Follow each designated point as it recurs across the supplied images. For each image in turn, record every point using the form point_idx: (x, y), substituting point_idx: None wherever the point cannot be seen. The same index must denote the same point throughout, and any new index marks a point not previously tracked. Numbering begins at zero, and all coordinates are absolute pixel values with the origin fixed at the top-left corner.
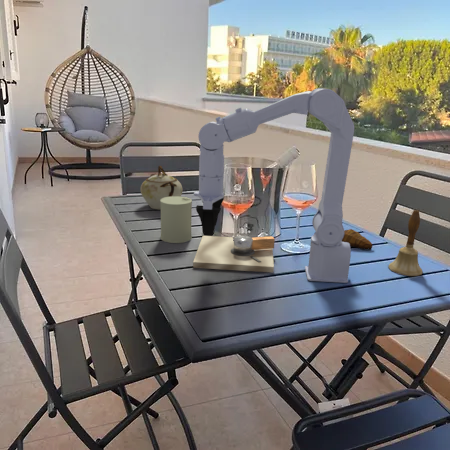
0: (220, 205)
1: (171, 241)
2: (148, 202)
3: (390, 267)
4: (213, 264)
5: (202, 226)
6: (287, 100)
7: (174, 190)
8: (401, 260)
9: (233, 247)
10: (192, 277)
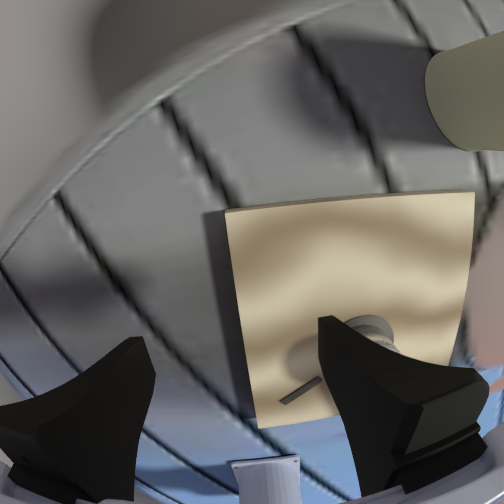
0: (357, 470)
1: (427, 85)
2: None
3: None
4: (235, 286)
5: (97, 363)
6: None
7: None
8: None
9: (362, 331)
10: (147, 230)
